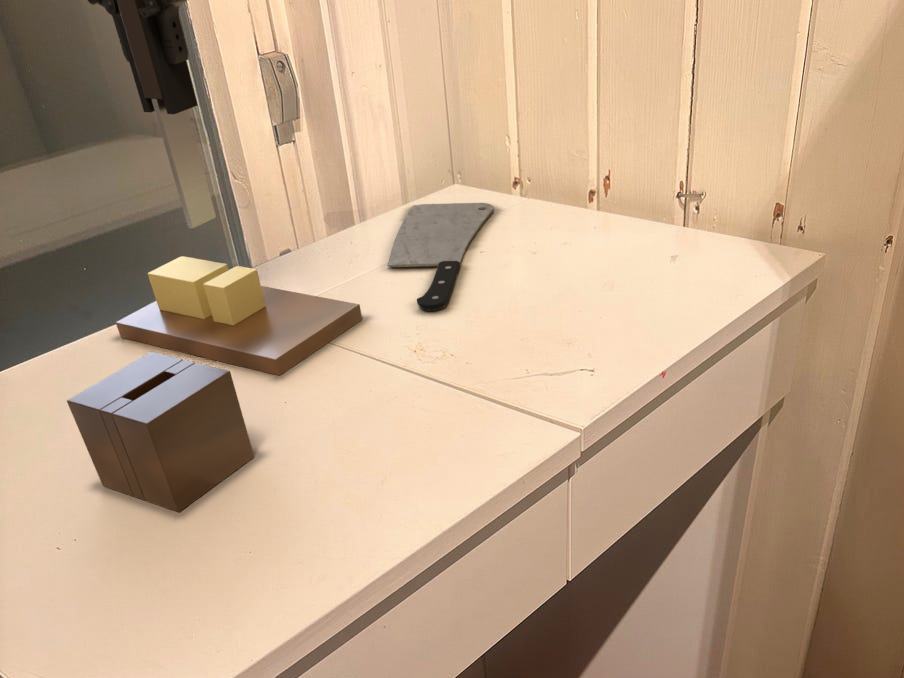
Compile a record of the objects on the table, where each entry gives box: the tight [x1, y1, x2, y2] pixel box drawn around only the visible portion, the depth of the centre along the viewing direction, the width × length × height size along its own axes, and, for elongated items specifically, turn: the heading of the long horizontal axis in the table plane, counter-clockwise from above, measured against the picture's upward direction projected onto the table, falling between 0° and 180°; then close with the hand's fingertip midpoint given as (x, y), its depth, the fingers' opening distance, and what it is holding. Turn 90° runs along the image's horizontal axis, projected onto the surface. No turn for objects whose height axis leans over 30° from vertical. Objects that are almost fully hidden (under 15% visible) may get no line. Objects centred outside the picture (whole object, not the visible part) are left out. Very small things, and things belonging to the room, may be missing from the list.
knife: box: [117, 0, 217, 230], centre depth 74 cm, size 2×3×19 cm, turn 149°
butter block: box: [147, 255, 230, 319], centre depth 86 cm, size 6×4×4 cm
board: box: [115, 285, 363, 376], centre depth 86 cm, size 20×12×2 cm, turn 59°
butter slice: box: [203, 265, 266, 326], centre depth 84 cm, size 2×4×4 cm, turn 149°
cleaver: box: [386, 202, 495, 311], centre depth 96 cm, size 29×1×10 cm
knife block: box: [66, 351, 255, 513], centre depth 66 cm, size 8×8×7 cm
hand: (170, 108), depth 74 cm, fingers closed on knife, 2 cm apart
